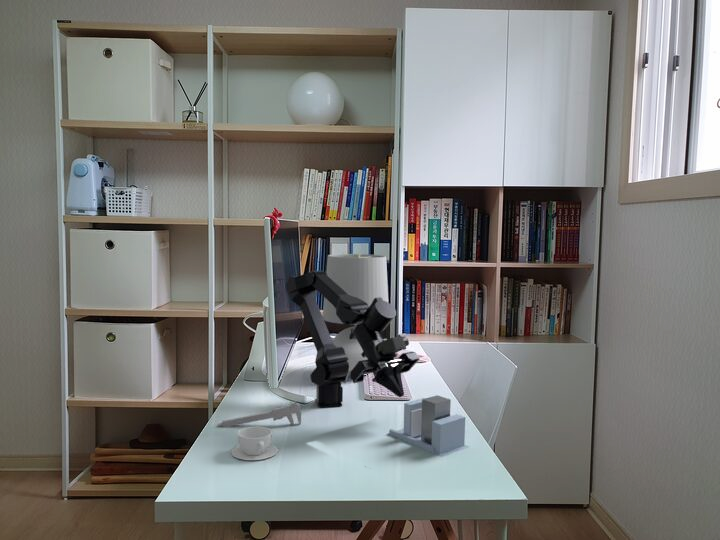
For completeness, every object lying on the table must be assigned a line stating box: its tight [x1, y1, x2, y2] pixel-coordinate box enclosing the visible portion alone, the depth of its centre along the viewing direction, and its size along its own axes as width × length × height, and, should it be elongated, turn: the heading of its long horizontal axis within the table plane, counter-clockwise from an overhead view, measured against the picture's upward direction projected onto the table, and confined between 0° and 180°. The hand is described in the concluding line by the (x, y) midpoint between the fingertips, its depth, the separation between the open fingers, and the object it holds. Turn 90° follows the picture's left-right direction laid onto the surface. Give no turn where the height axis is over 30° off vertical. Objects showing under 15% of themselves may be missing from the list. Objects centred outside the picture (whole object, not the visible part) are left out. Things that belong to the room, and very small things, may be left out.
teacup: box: [231, 425, 279, 461], centre depth 128 cm, size 10×10×5 cm
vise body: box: [387, 413, 470, 457], centre depth 134 cm, size 17×9×8 cm, turn 40°
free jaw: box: [403, 397, 425, 438], centre depth 136 cm, size 2×6×8 cm, turn 130°
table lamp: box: [322, 253, 389, 383], centre depth 190 cm, size 23×22×40 cm
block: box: [421, 394, 452, 445], centre depth 132 cm, size 4×5×10 cm
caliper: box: [216, 400, 302, 428], centre depth 145 cm, size 20×1×6 cm, turn 97°
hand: (402, 396), depth 140 cm, fingers closed
